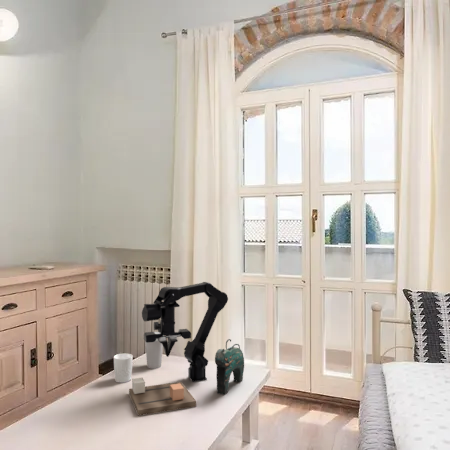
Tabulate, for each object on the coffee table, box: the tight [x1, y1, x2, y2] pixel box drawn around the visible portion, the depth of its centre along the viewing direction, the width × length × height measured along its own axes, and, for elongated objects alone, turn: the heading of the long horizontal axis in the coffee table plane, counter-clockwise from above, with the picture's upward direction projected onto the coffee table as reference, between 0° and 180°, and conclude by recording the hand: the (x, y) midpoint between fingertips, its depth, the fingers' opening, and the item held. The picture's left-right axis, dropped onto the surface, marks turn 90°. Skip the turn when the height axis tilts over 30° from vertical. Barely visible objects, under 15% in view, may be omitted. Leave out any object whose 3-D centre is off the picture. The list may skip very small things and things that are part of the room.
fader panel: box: [128, 381, 197, 417], centre depth 157 cm, size 21×20×2 cm
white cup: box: [113, 353, 134, 383], centre depth 177 cm, size 8×8×10 cm
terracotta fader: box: [170, 383, 184, 401], centre depth 154 cm, size 4×5×4 cm
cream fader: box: [131, 377, 146, 394], centre depth 160 cm, size 4×5×4 cm
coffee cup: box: [144, 331, 164, 370], centre depth 194 cm, size 10×10×15 cm
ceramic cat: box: [214, 338, 245, 396], centre depth 170 cm, size 20×6×20 cm, turn 152°
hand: (167, 356), depth 171 cm, fingers closed
